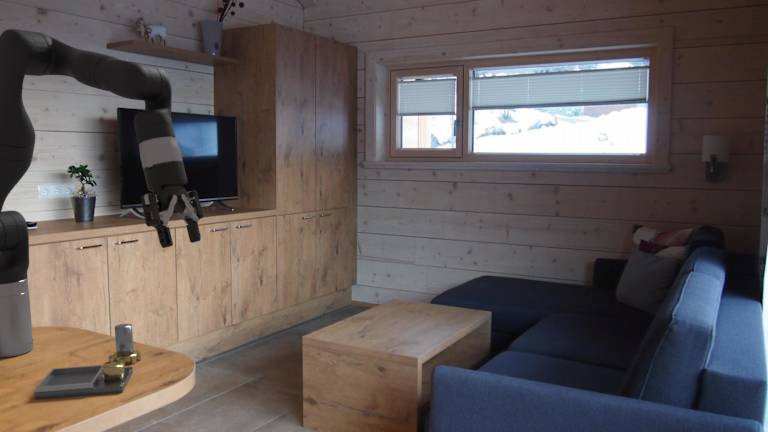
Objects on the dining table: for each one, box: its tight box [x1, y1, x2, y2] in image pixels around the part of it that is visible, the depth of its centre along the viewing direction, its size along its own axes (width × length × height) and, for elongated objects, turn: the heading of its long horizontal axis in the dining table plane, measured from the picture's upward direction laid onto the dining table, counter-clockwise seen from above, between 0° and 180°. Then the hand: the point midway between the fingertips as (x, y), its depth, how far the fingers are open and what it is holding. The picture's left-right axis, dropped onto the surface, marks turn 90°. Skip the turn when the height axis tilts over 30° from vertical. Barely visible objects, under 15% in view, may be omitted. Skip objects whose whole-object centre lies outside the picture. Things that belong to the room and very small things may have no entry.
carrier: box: [34, 362, 134, 400], centre depth 132 cm, size 16×11×4 cm
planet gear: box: [108, 323, 143, 367], centre depth 146 cm, size 7×7×8 cm
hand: (182, 244), depth 127 cm, fingers open, 8 cm apart
